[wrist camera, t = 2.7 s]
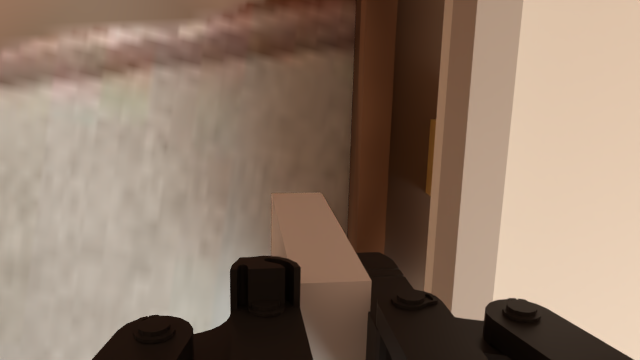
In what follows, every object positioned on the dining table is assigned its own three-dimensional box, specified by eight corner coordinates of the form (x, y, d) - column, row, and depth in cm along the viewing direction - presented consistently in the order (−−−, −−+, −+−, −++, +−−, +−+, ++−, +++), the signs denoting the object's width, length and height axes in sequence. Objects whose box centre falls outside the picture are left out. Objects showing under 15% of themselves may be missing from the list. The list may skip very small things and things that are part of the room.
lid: (412, 444, 25) (435, 494, 22) (452, -105, 20) (488, -127, 17) (625, 426, 26) (670, 470, 23) (711, -87, 21) (782, -105, 18)
